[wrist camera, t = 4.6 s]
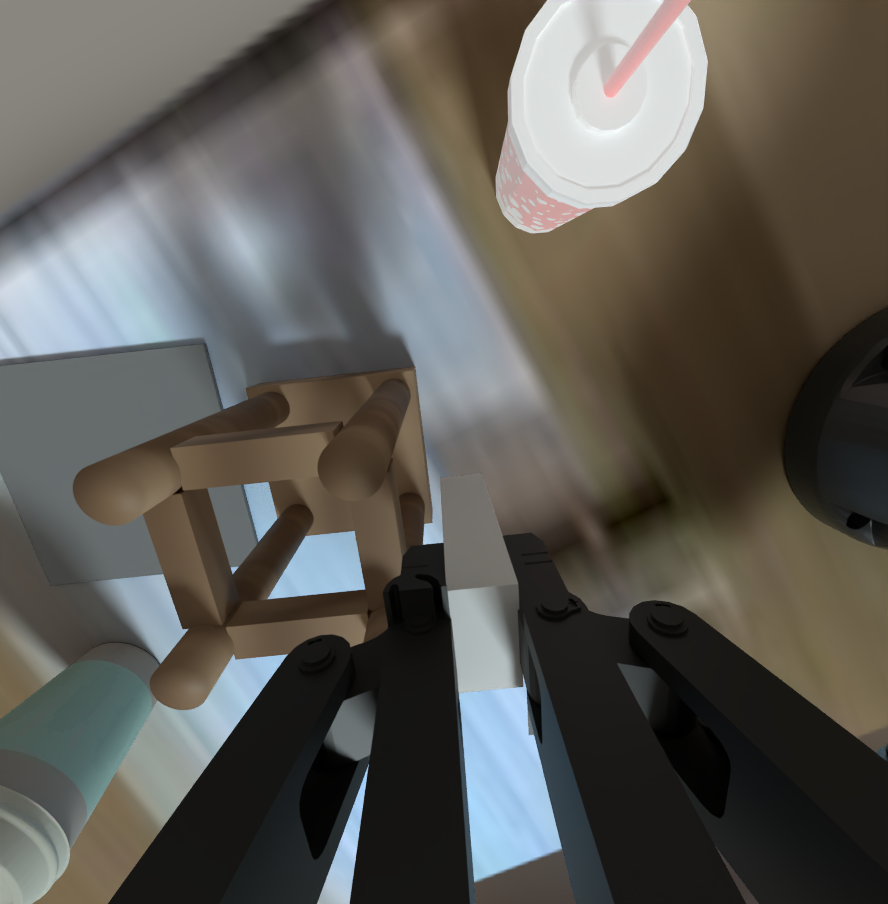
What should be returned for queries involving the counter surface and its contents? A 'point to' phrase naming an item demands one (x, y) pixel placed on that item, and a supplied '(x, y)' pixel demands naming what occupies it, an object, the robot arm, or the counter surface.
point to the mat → (103, 452)
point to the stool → (297, 507)
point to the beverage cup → (598, 106)
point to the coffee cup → (65, 761)
